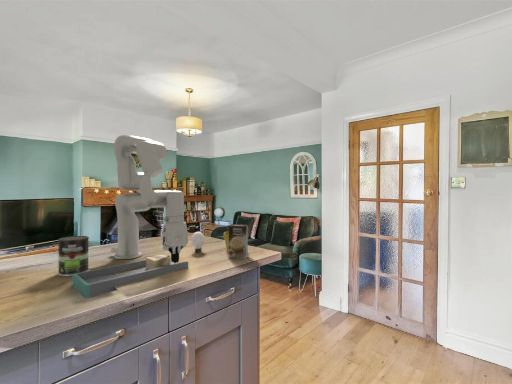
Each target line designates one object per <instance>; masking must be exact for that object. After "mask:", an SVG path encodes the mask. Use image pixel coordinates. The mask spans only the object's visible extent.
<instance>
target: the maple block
mask: <svg viewBox="0 0 512 384" xmlns="http://www.w3.org/2000/svg"><path fill="white" fill-rule="evenodd" d="M145 260H146V269H148V270H151V269H155V268H160V267H164V266H168V265H171V256H170V257H168V256H166V255H165V254H157V255H152V256H148V257H145Z"/></svg>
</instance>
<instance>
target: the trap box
mask: <svg viewBox="0 0 512 384" xmlns="http://www.w3.org/2000/svg"><path fill="white" fill-rule="evenodd" d="M165 256H168V257H171V254H170V255H169V254H167V255H165ZM188 268H189V261H188V260H186V261H182V262H178V263H177V262H176V263H173V262H172V261H171V265H168V266H164V267H160V268H155V269H151V270H148V269H146V259H141V260H136V261H131V262H126V263H122V264H115V265H110V266H105V267H103V268H96V269H91V270H89V271H85V272H80V273H75V274H72V276H71V277H72V284H71V285H72V287H74V289H76V290H77V291H78V292H79V293H80V295H82V296H83V297H84V298H85V299H88V298H92V297H96V296H99V295H103V294H107V293H112V292H115V291H118V289H117V288H116V287H118V286H121V285H122V286H123V285H126V284H130V283H133V282H138V281H142V280H145V279H149V278H154V277H156V276H157V277H158V276H161V275H166V274H169V273H174V272H177V271H180V270H184V269H188ZM135 269H136V270H135ZM129 270H132V271H129ZM124 271H127V272H124ZM120 272H122V273H120ZM117 273H119V274H117Z"/></svg>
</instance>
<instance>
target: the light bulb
mask: <svg viewBox="0 0 512 384" xmlns="http://www.w3.org/2000/svg"><path fill="white" fill-rule="evenodd" d="M204 243H205V236H204V234H203V232H201V231H196V232H194V233H193V234H192V235H191V245H192V246H193V247H194V253H195V254H200V253H203V252H202V251H203V250H202V247H203V245H204Z"/></svg>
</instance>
